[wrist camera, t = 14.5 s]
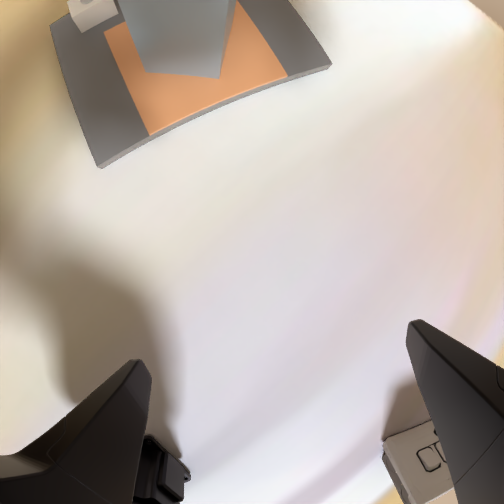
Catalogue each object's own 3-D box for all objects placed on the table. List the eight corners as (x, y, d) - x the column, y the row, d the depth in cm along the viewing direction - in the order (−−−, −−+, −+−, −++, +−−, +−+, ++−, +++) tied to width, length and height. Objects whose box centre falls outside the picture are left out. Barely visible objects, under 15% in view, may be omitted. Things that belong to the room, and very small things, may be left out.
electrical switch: (446, 411, 26) (491, 456, 17) (433, 440, 27) (471, 484, 18) (381, 437, 24) (423, 498, 15) (370, 465, 25) (404, 522, 16)
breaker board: (101, 168, 18) (78, 158, 14) (53, 30, 16) (35, 7, 12) (327, 69, 19) (349, 44, 15) (241, -44, 17) (247, -72, 13)
